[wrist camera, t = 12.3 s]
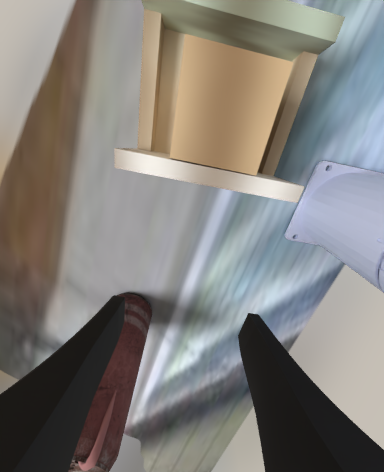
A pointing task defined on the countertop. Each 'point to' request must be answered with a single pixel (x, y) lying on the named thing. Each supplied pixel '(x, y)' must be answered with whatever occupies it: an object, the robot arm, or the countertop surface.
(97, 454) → the can
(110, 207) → the countertop surface
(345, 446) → the robot arm
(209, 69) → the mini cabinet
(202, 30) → the wooden cubby shelf
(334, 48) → the countertop surface
